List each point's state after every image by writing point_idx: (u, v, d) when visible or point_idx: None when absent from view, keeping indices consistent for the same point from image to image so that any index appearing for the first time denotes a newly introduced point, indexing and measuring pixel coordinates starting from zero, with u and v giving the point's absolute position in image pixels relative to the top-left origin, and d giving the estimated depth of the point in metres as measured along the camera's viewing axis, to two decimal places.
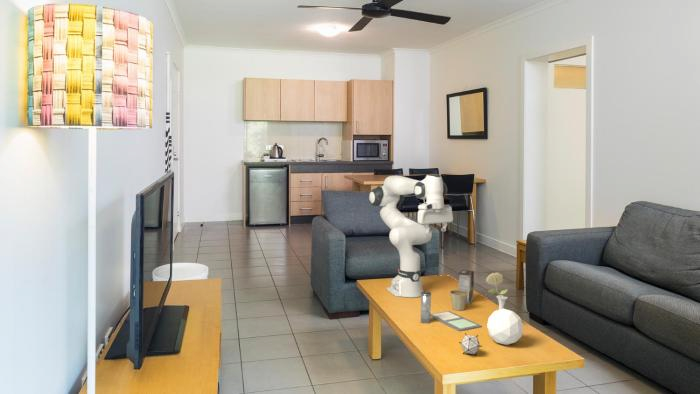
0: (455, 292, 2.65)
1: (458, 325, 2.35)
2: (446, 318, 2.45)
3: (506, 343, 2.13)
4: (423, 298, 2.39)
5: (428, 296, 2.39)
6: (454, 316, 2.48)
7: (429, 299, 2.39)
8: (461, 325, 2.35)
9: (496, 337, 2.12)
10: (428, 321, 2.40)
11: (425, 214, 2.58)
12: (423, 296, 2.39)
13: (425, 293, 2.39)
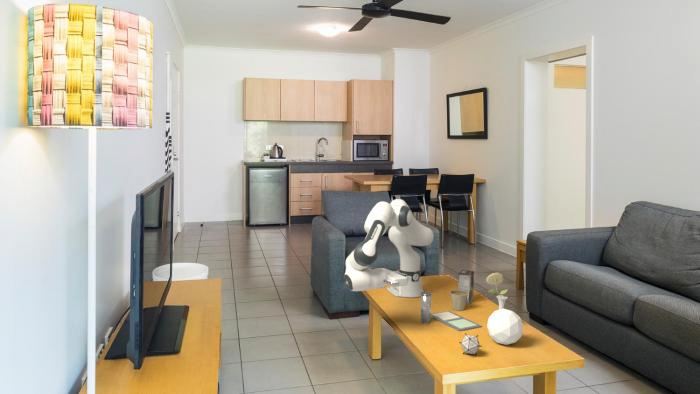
0: (455, 292, 2.65)
1: (458, 325, 2.35)
2: (446, 318, 2.45)
3: (506, 343, 2.13)
4: (423, 298, 2.39)
5: (428, 296, 2.39)
6: (454, 316, 2.48)
7: (429, 299, 2.39)
8: (461, 325, 2.35)
9: (496, 337, 2.12)
10: (428, 321, 2.40)
11: None
12: (423, 296, 2.39)
13: (426, 293, 2.39)
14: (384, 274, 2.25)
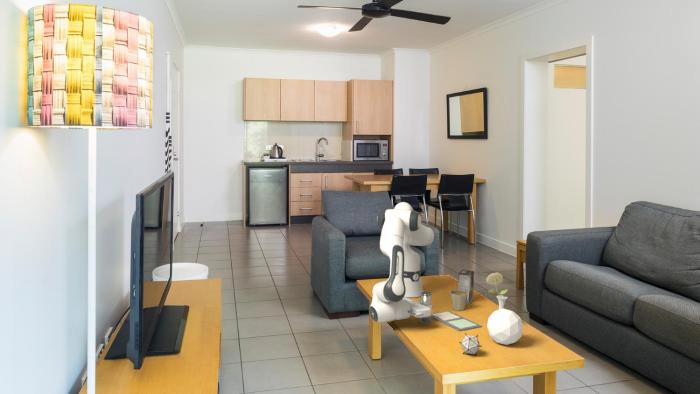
0: (455, 292, 2.65)
1: (458, 325, 2.35)
2: (446, 318, 2.45)
3: (506, 343, 2.13)
4: (423, 298, 2.39)
5: (428, 296, 2.39)
6: (454, 316, 2.48)
7: (429, 299, 2.39)
8: (461, 325, 2.35)
9: (496, 337, 2.12)
10: (428, 321, 2.40)
11: None
12: (423, 296, 2.39)
13: (425, 293, 2.39)
14: (408, 305, 2.32)
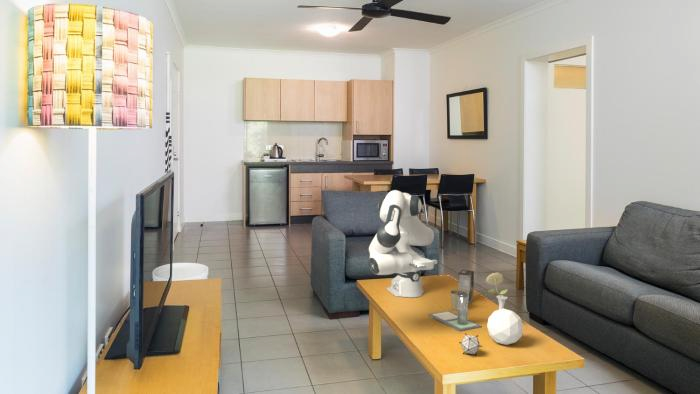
0: (455, 292, 2.65)
1: (458, 325, 2.35)
2: (446, 318, 2.45)
3: (506, 343, 2.13)
4: (460, 299, 2.35)
5: (465, 297, 2.35)
6: (454, 316, 2.48)
7: (466, 300, 2.35)
8: (461, 325, 2.35)
9: (496, 337, 2.12)
10: (465, 322, 2.36)
11: None
12: (460, 297, 2.35)
13: (463, 295, 2.35)
14: (410, 257, 2.21)
